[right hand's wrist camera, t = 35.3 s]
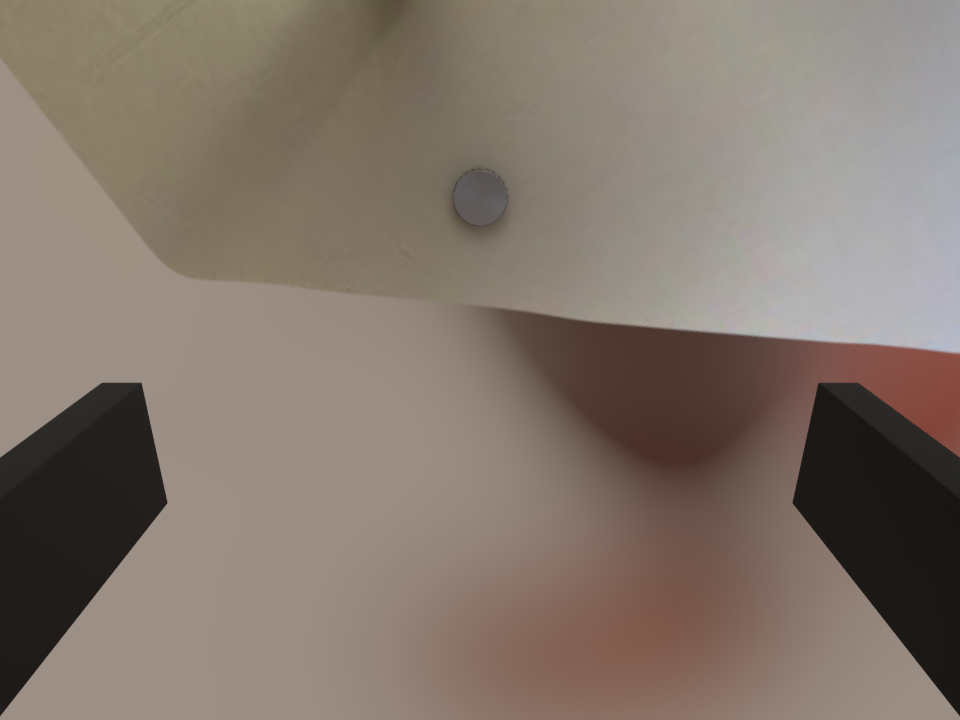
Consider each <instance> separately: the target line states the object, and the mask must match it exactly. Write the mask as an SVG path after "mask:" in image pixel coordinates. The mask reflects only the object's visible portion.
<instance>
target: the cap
mask: <svg viewBox="0 0 960 720" xmlns="http://www.w3.org/2000/svg"><path fill="white" fill-rule="evenodd" d="M507 198H508V195H507V188H505V185H504V181H502V180H501V178H500V176H498V175H497V174H495V173H494V171H493V172H492V171H490V170H488V169H480V168H479V169H474V170H473V169H472V170H471V171H469V172H466V174H464V175H463V176H462V177H460V180H459V181H458V182H457V183H456V188H455V189H454V196H453V199H454V206H455V208H456V211H457V213H458V214H459V215H460V217H461V218H462V219H464V220H465V221H466V222H468V223H470V224H473V225H478V226H483V225H488V224H491V223H493V222H495V221H496V220H497V219H498V218H500V216H501V215H502V214H503V212H504V211H505V208H506V205H507Z"/></svg>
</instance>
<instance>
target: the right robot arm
mask: <svg viewBox="0 0 960 720" xmlns="http://www.w3.org/2000/svg"><path fill="white" fill-rule="evenodd" d="M166 504H167V499H166V494H165V490H164V485H163V480H162V476H161V471H160V466H159V462H158V457H157V453H156V448H155V443H154V439H153V434H152V429H151V425H150V420H149V415H148V411H147V406H146V402H145V397H144V392H143V388H142V383H101V384H100V385H99V386H97V387H96V388H94V389H93V390H92V391H90V392H89V393H88V394H86V395H85V396H83V397H82V398H81V399H79V400H78V401H77V402H75V403H74V404H73V405H71V406H70V407H69V408H67V409H66V410H64V411H63V412H62V413H60V414H59V415H58V416H56V417H55V418H54V419H52V420H51V421H49V422H48V423H47V424H45V425H44V426H43V427H41V428H40V429H39V430H37V431H36V432H34V433H33V434H32V435H30V436H29V437H28V438H26V439H25V440H24V441H22V442H21V443H20V444H18V445H17V446H15V447H14V448H13V449H11V450H10V451H9V452H7V453H6V454H5V455H3V456H2V457H1V458H0V716H1V714H2V713H3V712H4V711H5V709H6V708H7V707H8V705H9V704H10V703H11V702H12V700H13V699H14V698H15V697H16V695H17V694H18V693H19V691H20V690H21V689H22V688H23V686H24V685H25V684H26V683H27V681H28V680H29V679H30V677H31V676H32V675H33V674H34V672H35V671H36V670H37V669H38V667H39V666H40V665H41V663H42V662H43V661H44V660H45V658H46V657H47V656H48V655H49V653H50V652H51V651H52V649H53V648H54V647H55V646H56V644H57V643H58V642H59V641H60V639H61V638H62V637H63V635H64V634H65V633H66V632H67V630H68V629H69V628H70V626H71V625H72V624H73V623H74V621H75V620H76V619H77V618H78V616H79V615H80V614H81V612H82V611H83V610H84V609H85V607H86V606H87V605H88V603H89V602H90V601H91V600H92V598H93V597H94V596H95V595H96V593H97V592H98V591H99V589H100V588H101V587H102V586H103V584H104V583H105V582H106V581H107V579H108V578H109V577H110V576H111V574H112V573H113V572H114V570H115V569H116V568H117V567H118V565H119V564H120V563H121V561H122V560H123V559H124V558H125V556H126V555H127V554H128V553H129V551H130V550H131V549H132V547H133V546H134V545H135V544H136V542H137V541H138V540H139V539H140V537H141V536H142V535H143V533H144V532H145V531H146V530H147V528H148V527H149V526H150V525H151V523H152V522H153V521H154V519H155V518H156V517H157V516H158V514H159V513H160V512H161V511H162V509H163V508H164V507H165V505H166ZM793 504H794V505H795V507H796V508H797V509H798V511H799V512H800V513H801V514H802V516H803V517H804V518H805V519H806V521H807V522H808V523H809V525H810V526H811V527H812V528H813V530H814V531H815V532H816V533H817V535H818V536H819V537H820V538H821V540H822V541H823V542H824V544H825V545H826V546H827V547H828V549H829V550H830V551H831V553H832V554H833V555H834V556H835V558H836V559H837V560H838V562H839V563H840V564H841V565H842V567H843V568H844V569H845V570H846V572H847V573H848V574H849V576H850V577H851V578H852V579H853V581H854V582H855V583H856V584H857V586H858V587H859V588H860V590H861V591H862V592H863V593H864V595H865V596H866V597H867V598H868V600H869V601H870V602H871V603H872V605H873V606H874V607H875V609H876V610H877V611H878V612H879V614H880V615H881V616H882V618H883V619H884V620H885V621H886V623H887V624H888V625H889V627H890V628H891V629H892V630H893V632H894V633H895V634H896V635H897V637H898V638H899V639H900V641H901V642H902V643H903V644H904V646H905V647H906V648H907V649H908V651H909V652H910V653H911V654H912V656H913V657H914V658H915V660H916V661H917V662H918V663H919V665H920V666H921V667H922V669H923V670H924V671H925V672H926V674H927V675H928V676H929V677H930V679H931V680H932V681H933V683H934V684H935V685H936V686H937V688H938V689H939V690H940V691H941V693H942V694H943V695H944V696H945V698H946V699H947V700H948V702H949V703H950V704H951V705H952V707H953V708H954V709H955V711H956V712H957V713H958V714H959V716H960V457H958V456H957V455H955V454H954V453H953V452H951V451H950V450H949V449H947V448H946V447H945V446H943V445H942V444H940V443H939V442H938V441H936V440H935V439H934V438H932V437H931V436H930V435H928V434H927V433H926V432H924V431H923V430H921V429H920V428H919V427H917V426H916V425H915V424H913V423H912V422H911V421H909V420H908V419H906V418H905V417H904V416H902V415H901V414H900V413H898V412H897V411H896V410H894V409H893V408H891V407H890V406H889V405H887V404H886V403H885V402H883V401H882V400H881V399H879V398H878V397H877V396H875V395H874V394H872V393H871V392H870V391H868V390H867V389H866V388H864V387H863V386H862V385H860V384H859V383H818V388H817V392H816V397H815V402H814V406H813V411H812V415H811V420H810V425H809V429H808V434H807V439H806V443H805V448H804V452H803V457H802V462H801V466H800V471H799V476H798V480H797V485H796V489H795V494H794V499H793Z"/></svg>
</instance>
